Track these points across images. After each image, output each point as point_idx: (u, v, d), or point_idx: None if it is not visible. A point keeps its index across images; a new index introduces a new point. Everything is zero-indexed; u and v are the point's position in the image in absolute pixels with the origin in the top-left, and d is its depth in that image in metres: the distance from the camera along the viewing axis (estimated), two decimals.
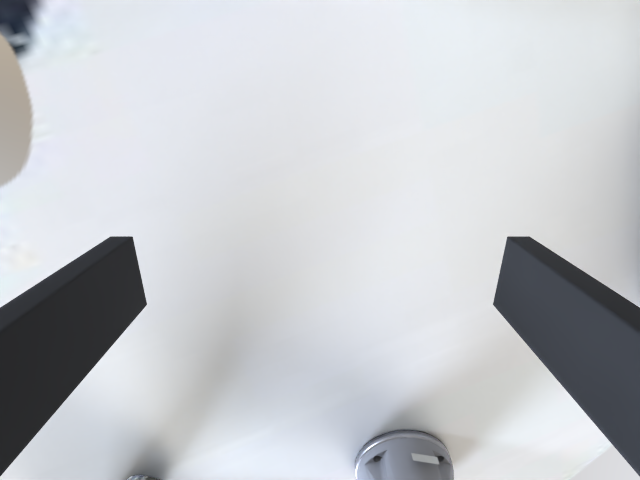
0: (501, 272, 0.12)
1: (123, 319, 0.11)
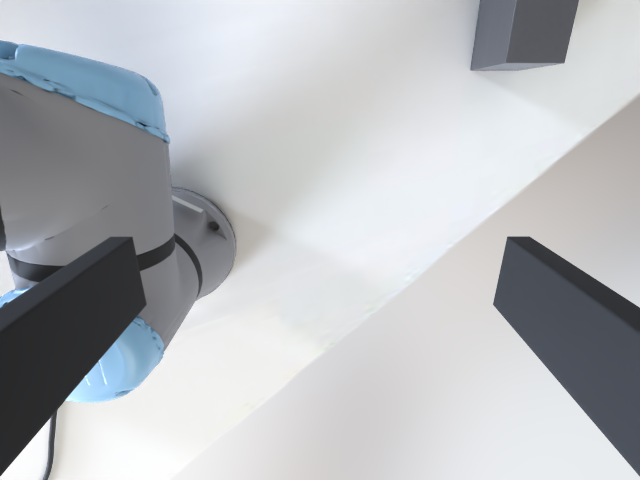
0: (501, 272, 0.12)
1: (123, 319, 0.11)
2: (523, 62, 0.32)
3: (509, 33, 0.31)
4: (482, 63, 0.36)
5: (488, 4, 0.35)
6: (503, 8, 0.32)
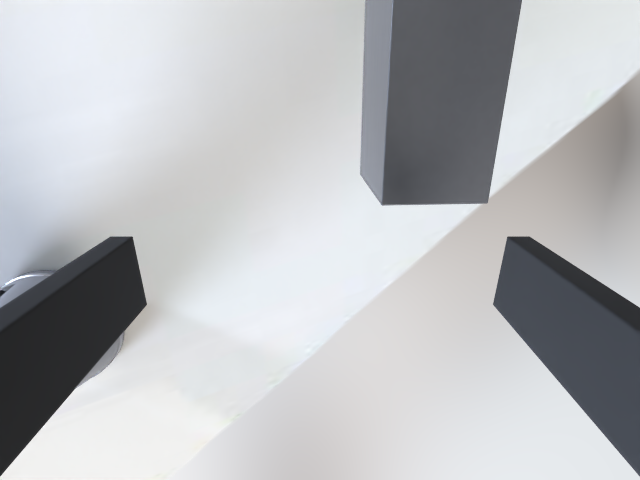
0: (501, 272, 0.12)
1: (123, 319, 0.11)
2: (414, 203, 0.17)
3: (383, 156, 0.17)
4: (366, 176, 0.22)
5: (368, 84, 0.21)
6: (377, 104, 0.18)
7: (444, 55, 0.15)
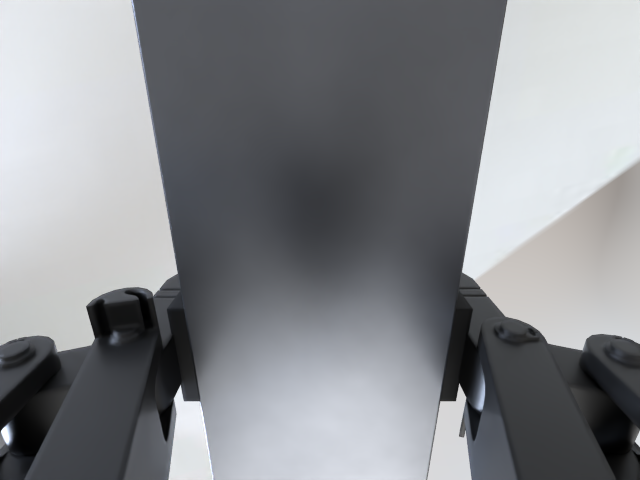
0: None
1: None
2: None
3: (203, 409, 0.08)
4: None
5: None
6: None
7: (303, 242, 0.06)
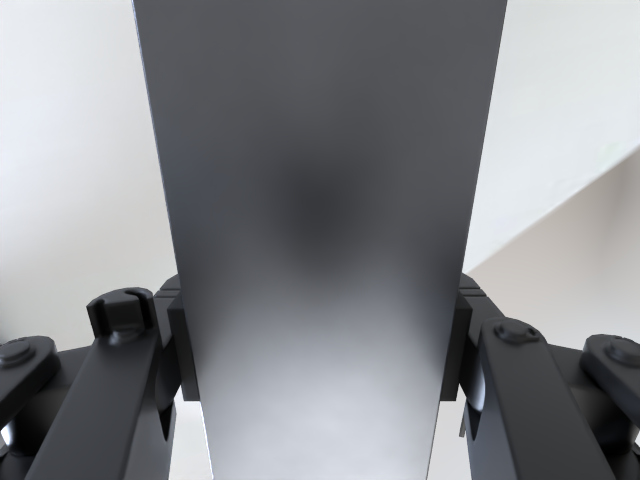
0: None
1: None
2: None
3: (203, 409, 0.08)
4: None
5: None
6: None
7: (303, 242, 0.06)
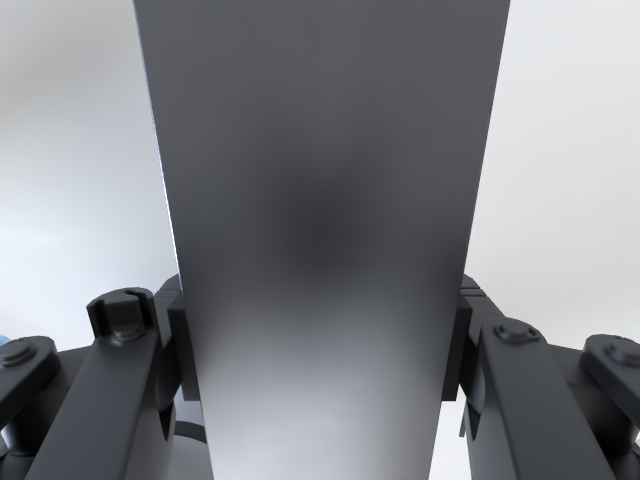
0: None
1: None
2: None
3: (204, 409, 0.08)
4: None
5: None
6: None
7: (304, 241, 0.06)
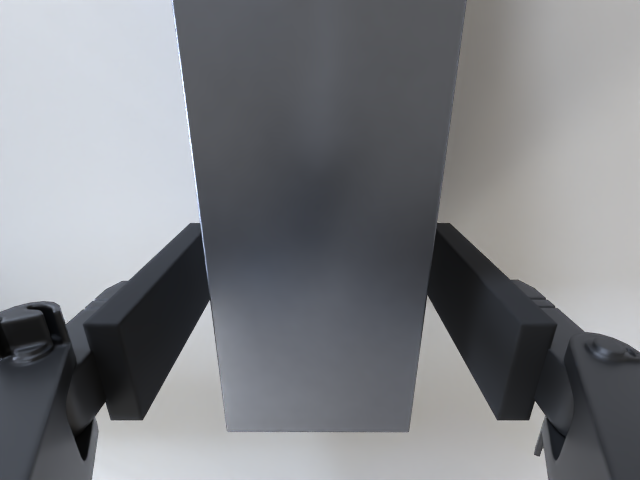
0: None
1: (205, 296, 0.13)
2: (283, 428, 0.10)
3: (219, 362, 0.10)
4: None
5: None
6: None
7: (305, 217, 0.08)
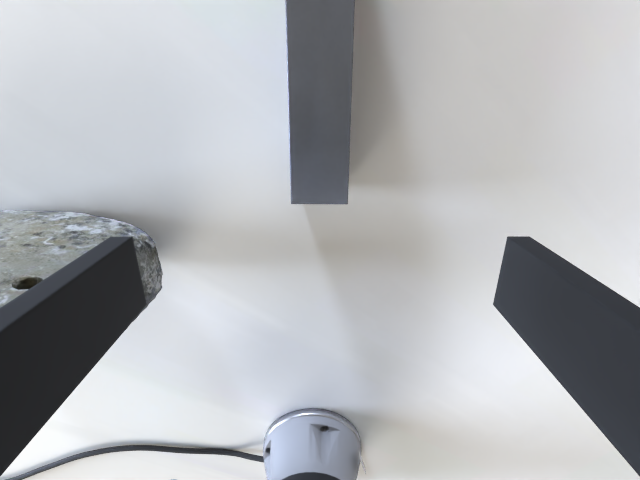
0: (501, 272, 0.12)
1: (123, 319, 0.11)
2: (308, 203, 0.33)
3: (290, 178, 0.32)
4: None
5: None
6: None
7: (316, 131, 0.31)
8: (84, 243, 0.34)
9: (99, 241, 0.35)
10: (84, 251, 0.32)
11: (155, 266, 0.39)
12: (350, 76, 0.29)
